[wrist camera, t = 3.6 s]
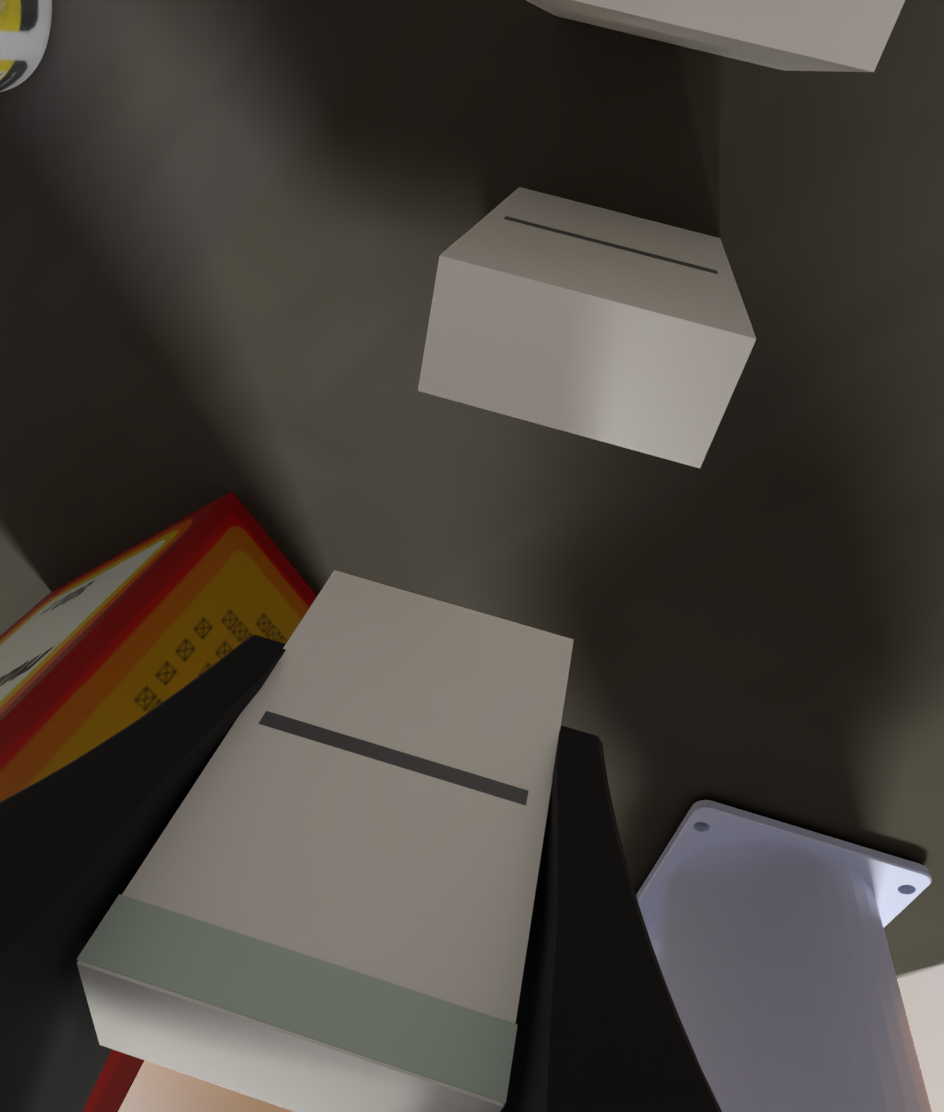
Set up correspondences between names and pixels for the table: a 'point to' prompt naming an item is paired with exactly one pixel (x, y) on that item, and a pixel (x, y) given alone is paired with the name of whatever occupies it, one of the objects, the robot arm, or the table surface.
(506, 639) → the domino head
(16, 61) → the supplement bottle
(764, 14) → the domino
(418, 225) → the table surface
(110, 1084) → the baking soda box
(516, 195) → the domino
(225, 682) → the robot arm
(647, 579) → the table surface
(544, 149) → the table surface
